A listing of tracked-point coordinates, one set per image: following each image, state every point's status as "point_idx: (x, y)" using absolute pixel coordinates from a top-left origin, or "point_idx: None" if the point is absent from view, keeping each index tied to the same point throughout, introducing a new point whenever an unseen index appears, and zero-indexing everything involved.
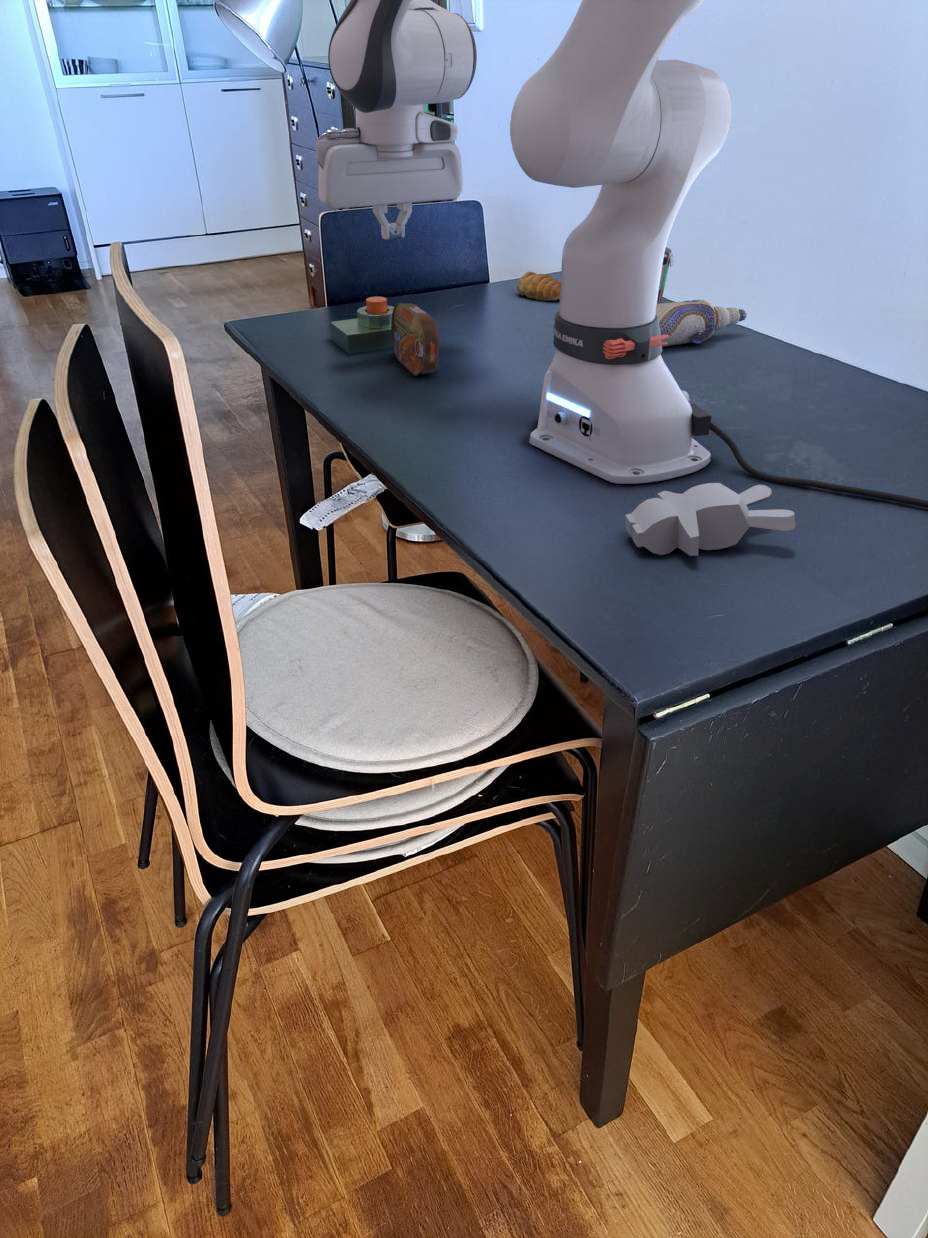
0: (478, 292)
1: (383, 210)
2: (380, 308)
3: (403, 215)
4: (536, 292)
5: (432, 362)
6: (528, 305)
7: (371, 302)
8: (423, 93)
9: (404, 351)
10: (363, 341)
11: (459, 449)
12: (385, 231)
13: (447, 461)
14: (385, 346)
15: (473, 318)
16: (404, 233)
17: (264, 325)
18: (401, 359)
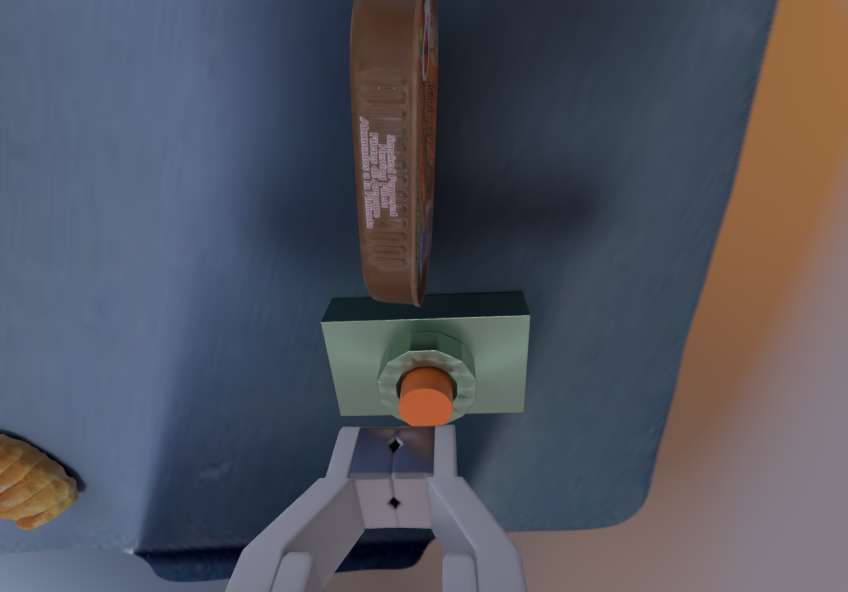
0: (160, 519)
1: (478, 571)
2: (425, 376)
3: (315, 535)
4: (34, 464)
5: None
6: (67, 433)
7: (445, 394)
8: None
9: (424, 186)
10: (487, 305)
11: None
12: (455, 455)
13: None
14: (432, 297)
15: (194, 404)
16: (341, 435)
17: (591, 497)
18: (429, 195)
